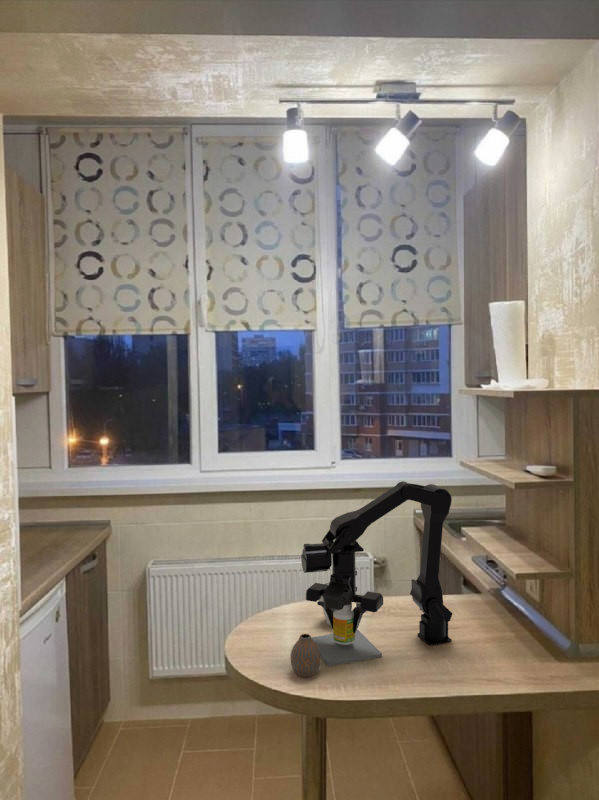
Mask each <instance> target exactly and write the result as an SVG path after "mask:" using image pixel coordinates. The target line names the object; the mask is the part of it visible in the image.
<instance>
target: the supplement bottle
mask: <svg viewBox="0 0 599 800" xmlns="http://www.w3.org/2000/svg"><path fill="white" fill-rule="evenodd" d="M353 622H354V613H353V602H352V603H351V605H347V604H346V605H344V607H343V609H341V610H335V611H334V612H333V629H332V630H333V632H332V634H333V640H334V642H336V643H337V644H341V645H349V644H352V643H353V642H354V641H355V633H354V632H353Z"/></svg>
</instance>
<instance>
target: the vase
mask: <svg viewBox="0 0 599 800" xmlns="http://www.w3.org/2000/svg"><path fill="white" fill-rule="evenodd" d="M311 637H312V636H311V634H309V633H302V634H300V636H299V638H298V639H297V641H295V643H294V645H292V648H291V652H290V665H291V668H292V670H293V671H294V673H295V674H296V675H297V676H299V677H301V678H309V677H312V676H314V675H315V674H316V673H317V672H318V671H319V668H320V666H321V659H322V658H321V657H320V651H319V648H318V646H317V645H316V643H315V642H314V641H313V640H312V638H311Z"/></svg>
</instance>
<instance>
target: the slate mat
mask: <svg viewBox="0 0 599 800" xmlns="http://www.w3.org/2000/svg"><path fill="white" fill-rule="evenodd" d="M311 638H312V640H313V641H314V642H315V643H316V645H317V646H318V648H319V651H320V657H321V659H322V660H323V662H324V663H325V664H326V665H327V666H328V667H333V666H337V665H338V666H339V665H342V664H343V665H344V664H348V663H356V662H360V661H366V660H367V661H368V660H371V659H377V658H382V657H383V653H382V652H381V651H380V650H379V649H378V648H377V647H376V646H375V645H374V644H373V643H372V642H371V641H370V640H369V639H368V638H367V637H366V636H365V635H364V634H363V633H362V632H361V631H360V630H359V629H357V632H356V633H355V641H354V642H353V643H352V644H349V645H341V644H337V643H336V642H334V640H333V633H330V634H325V635H317V636H311Z"/></svg>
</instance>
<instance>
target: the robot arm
mask: <svg viewBox="0 0 599 800" xmlns="http://www.w3.org/2000/svg"><path fill="white" fill-rule="evenodd" d="M407 501H414V502H417V503H419V504H420V508H421V509H420V510H421V512H422V516H423V520H424V521H423V533H422V534H423V535H422V546H421V547H422V548H421V560H420V571H419V575H418V577H417V578H416V579H412V578H411V589H410V592H409V595H410V596H412V597H411V598H412V601H413V602H414V604H415V605H416V606H417V607H418V608H419V610H420V611H422V613H421V614H420V621H419V625H418V626H419V631H418V633H417V636H418V637H419V638H420V639H421V640H422V641H423V642H425V643H426V644H427V645H429V646H435V645H441V644H446V643H452V638H450V636H449V622H450V621H451V619H452V617H453V612H452V611H450V609H448V608H447V607H446V605H444V597H443V596H444V594H443V588H442V586H441V581H440V566H441V565H440V564H441V555H442V553H441V552H442V542H443V541H442V539H443V530H444V529H443V528H444V522H445V520H446V519H447V517H448V515H449V513H450V509H451V505H452V501H453V500H452V495H451V494H450V492H449V491H448V489H447V490H446V489H445V488H443V487H440V486H438V485H436V484H432V483H431V484H427V485H425V486H424V485H421V484H417V483H410V482H407V481H403V480H402V481H398V483H397V484H396V485H395V486H393V487H391V488H390V489H389V490H387V491H385V492H383V493H382V494H381V495H380V496H378V497H376V498H375V499H372V501H370V502H368V503H366V505H363V506H362V507H361V508H359V509H356V510H353V511H350V512H346V513H344V514H341V515H339V516H337V517H335V518H333V519H332V520H331V522H330V525H329V529H328V531H327V532H326V534H325V535H324V537H323V538H322V540H321V543H304V544H303V548H302V552H301V555H300V558H301V561H300V562H301V568H302V571H303V573H305V574H307V573H318V572H319V573H320V572H327V571H329V570H331V569H332V571H331V572H332V574H330V577H329V582H330V583H329V585H326V584H324V583H318V582H314V583H313V584H312V585H310V586H309V587H308V588H307V589H306V592H305V601H308V602H315V603H317V605H318V606H320V607H321V608H322V609H323V608H324V609H325V611H326V613H327V615H328V618H329V621H330V624H331V625H330V626H331V628H332V630H333V612H334V611H335V610H341V609H343V607H344V605H346V604H347V605H351V603H352V604H353V603H355V605H356V606H355V607H354V608H352V610H353V613H354V622H353V632H354V633H356V632H357V630H359V629H358V628H359V626H360V623H361V621H362V618H363V615H364V614H365V613H366V612H371V613H377V612H378V611H379V610H380V609H381V608H382V606H383V605H384V597H383V595H382V593H380V592H376V591H375V592H374V591H369V590H367V592H366V593H365V594H362V595H361V594H356V593H357V592H358V586H357V585H356V583H357V582H356V577H357V576H358V570H356V553H360V552H364V548H363V547H362V546H361V545H360V544H359V542H358V541H357V540H358V539H359V538H361V536H362V535H364V534H365V532H366V531H367V529H368V527H370V526H371V525H372V524H373V523H375V522H377V521H378V520H379V519H381V518H382V517H384V516H386V515H387V514H388V513H390V512H393V510H394V509H396V508H398V507H399V506H401V505H402V504H404V503H405V502H407ZM331 567H332V568H331Z"/></svg>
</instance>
